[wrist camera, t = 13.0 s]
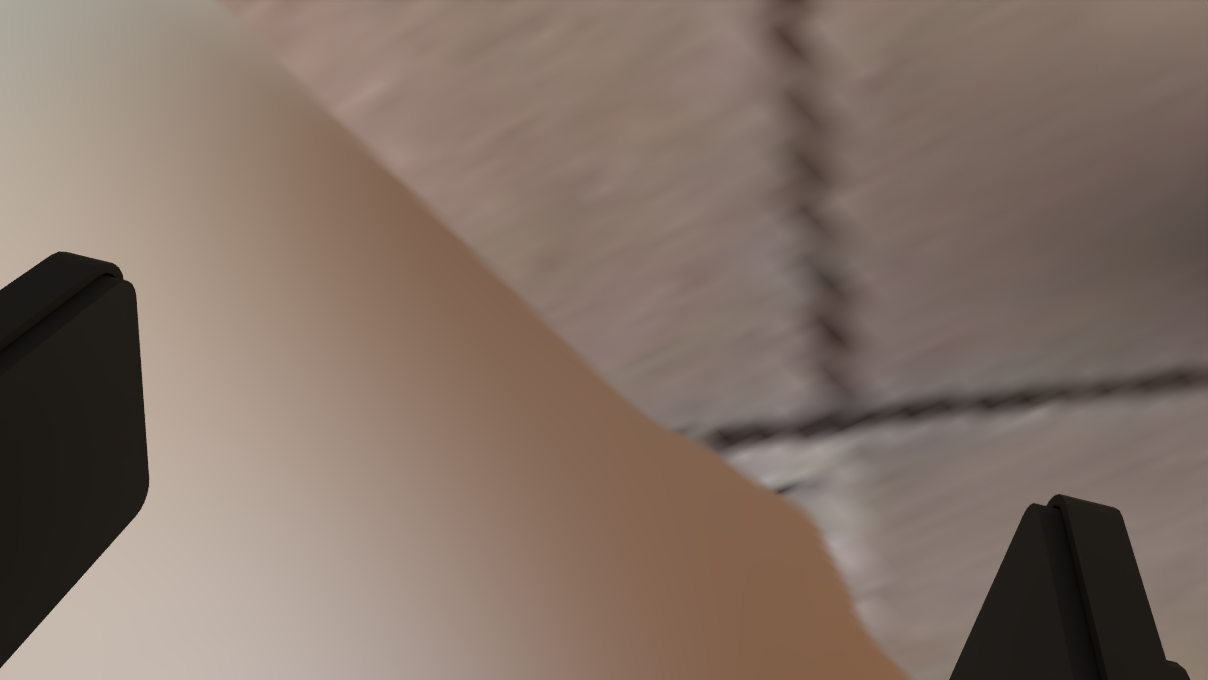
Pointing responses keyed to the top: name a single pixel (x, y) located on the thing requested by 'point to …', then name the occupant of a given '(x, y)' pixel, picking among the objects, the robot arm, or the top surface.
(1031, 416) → the top surface
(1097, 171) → the top surface
